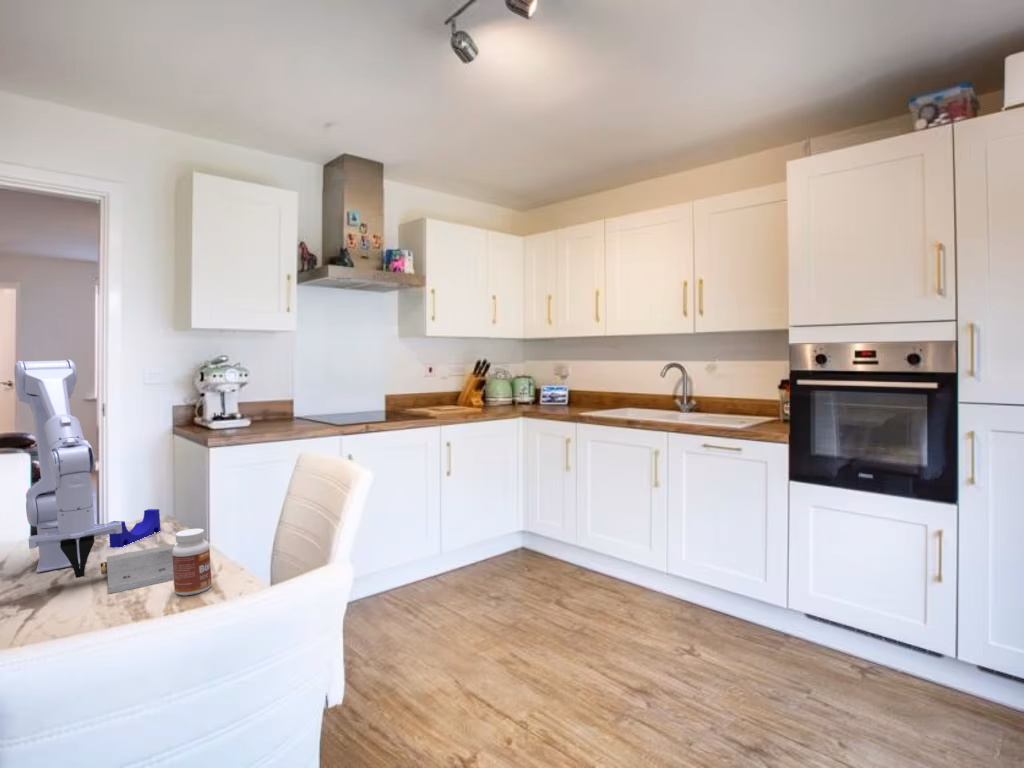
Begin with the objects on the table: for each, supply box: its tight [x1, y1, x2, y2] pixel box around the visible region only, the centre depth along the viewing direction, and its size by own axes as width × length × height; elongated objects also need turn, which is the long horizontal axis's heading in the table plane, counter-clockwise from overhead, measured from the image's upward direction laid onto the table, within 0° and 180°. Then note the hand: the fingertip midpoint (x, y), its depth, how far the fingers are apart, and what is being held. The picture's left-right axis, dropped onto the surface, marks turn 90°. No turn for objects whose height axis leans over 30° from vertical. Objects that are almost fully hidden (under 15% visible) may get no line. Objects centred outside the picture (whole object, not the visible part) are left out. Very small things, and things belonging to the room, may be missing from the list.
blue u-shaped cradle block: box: [108, 508, 161, 548], centre depth 143 cm, size 12×4×6 cm, turn 170°
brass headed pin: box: [100, 561, 108, 575], centre depth 120 cm, size 13×2×2 cm, turn 125°
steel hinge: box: [105, 543, 176, 594], centre depth 121 cm, size 12×20×4 cm, turn 35°
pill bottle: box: [172, 528, 212, 597], centre depth 110 cm, size 6×6×11 cm
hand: (80, 575), depth 115 cm, fingers closed
